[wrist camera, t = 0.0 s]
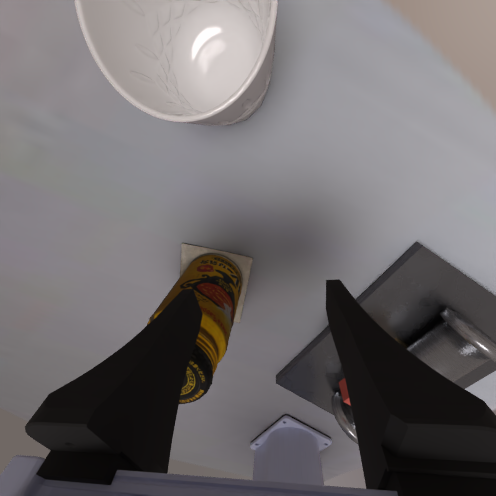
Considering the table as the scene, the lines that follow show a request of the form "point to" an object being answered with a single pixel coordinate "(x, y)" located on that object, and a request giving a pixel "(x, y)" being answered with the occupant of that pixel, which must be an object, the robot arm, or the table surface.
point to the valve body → (408, 331)
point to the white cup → (184, 55)
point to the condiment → (210, 309)
